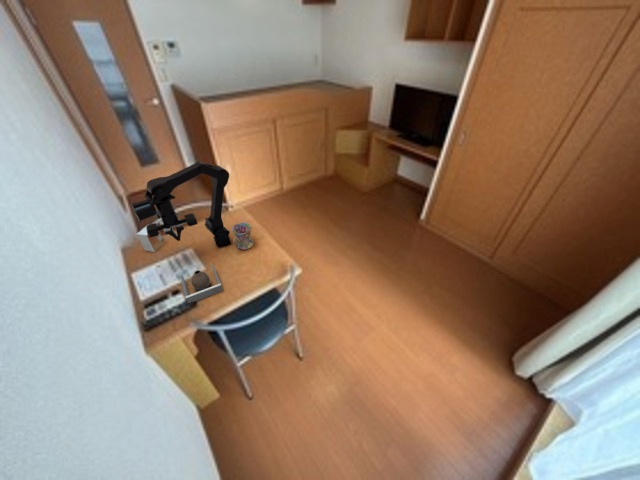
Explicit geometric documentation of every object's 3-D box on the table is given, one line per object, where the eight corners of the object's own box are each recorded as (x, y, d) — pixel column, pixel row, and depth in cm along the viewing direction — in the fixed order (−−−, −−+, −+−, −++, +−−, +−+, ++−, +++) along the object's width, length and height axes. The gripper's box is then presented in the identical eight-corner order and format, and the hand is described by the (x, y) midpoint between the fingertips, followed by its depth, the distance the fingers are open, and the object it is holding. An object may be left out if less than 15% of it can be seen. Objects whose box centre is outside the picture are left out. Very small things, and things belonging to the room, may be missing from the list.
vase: (215, 283, 114) (209, 268, 108) (204, 295, 109) (198, 280, 103) (201, 279, 116) (195, 264, 110) (190, 290, 111) (184, 276, 105)
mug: (242, 237, 138) (239, 220, 131) (258, 241, 136) (255, 224, 129) (228, 252, 129) (223, 234, 123) (245, 256, 127) (241, 239, 120)
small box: (155, 252, 129) (146, 235, 122) (145, 251, 130) (135, 234, 123) (165, 242, 135) (157, 225, 128) (156, 240, 136) (147, 224, 129)
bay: (215, 270, 120) (213, 264, 117) (223, 290, 111) (221, 284, 108) (183, 281, 114) (180, 275, 112) (188, 304, 105) (185, 298, 103)
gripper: (187, 195, 117) (197, 224, 126) (138, 207, 109) (153, 237, 119) (192, 207, 109) (202, 237, 119) (140, 221, 102) (156, 251, 111)
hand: (179, 240), depth 117 cm, fingers closed
